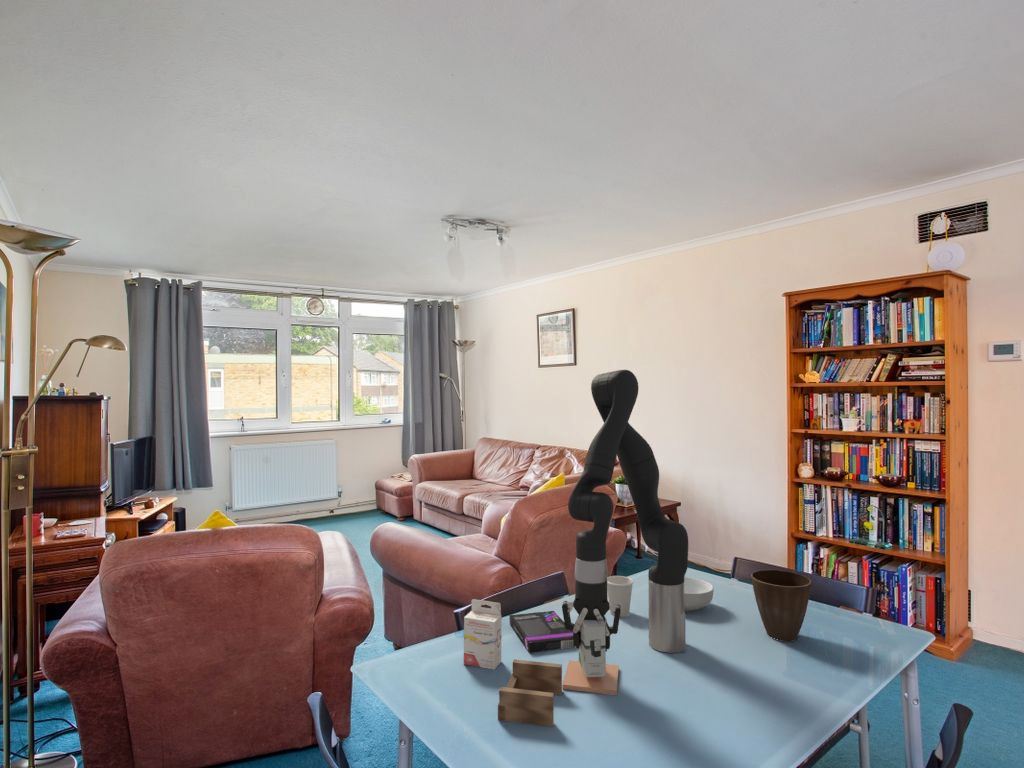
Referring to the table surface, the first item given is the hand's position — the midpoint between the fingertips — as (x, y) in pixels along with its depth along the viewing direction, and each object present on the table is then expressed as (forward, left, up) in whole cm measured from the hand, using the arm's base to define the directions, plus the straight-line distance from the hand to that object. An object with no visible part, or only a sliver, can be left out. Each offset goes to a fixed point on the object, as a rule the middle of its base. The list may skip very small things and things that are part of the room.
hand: (591, 648), depth 133 cm
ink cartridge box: (+27, -2, -7) cm, 28 cm away
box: (+15, -21, -8) cm, 28 cm away
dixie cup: (-5, -42, -7) cm, 43 cm away
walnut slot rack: (+12, +14, -7) cm, 20 cm away
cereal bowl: (-25, -52, -7) cm, 58 cm away
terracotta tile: (0, 0, -7) cm, 7 cm away
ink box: (0, 0, -5) cm, 5 cm away
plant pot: (-49, -35, -7) cm, 61 cm away
